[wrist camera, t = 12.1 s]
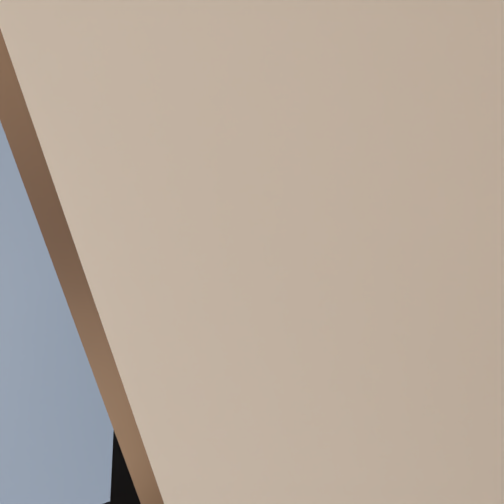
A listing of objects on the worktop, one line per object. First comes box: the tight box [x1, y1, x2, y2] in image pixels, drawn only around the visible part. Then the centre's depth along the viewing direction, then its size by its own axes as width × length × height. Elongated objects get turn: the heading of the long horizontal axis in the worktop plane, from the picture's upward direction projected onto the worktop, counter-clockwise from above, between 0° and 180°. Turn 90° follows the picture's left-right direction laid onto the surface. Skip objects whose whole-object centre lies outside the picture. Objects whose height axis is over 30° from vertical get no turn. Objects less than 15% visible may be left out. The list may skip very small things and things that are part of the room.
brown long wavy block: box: [0, 29, 164, 504], centre depth 9 cm, size 20×6×4 cm, turn 11°
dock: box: [0, 121, 114, 504], centre depth 13 cm, size 24×20×4 cm
